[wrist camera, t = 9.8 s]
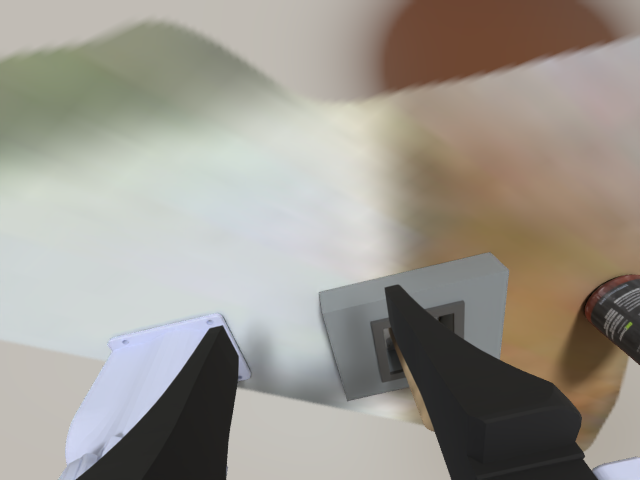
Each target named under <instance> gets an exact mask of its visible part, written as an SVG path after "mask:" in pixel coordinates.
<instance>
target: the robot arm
mask: <svg viewBox="0 0 640 480" xmlns="http://www.w3.org/2000/svg"><path fill="white" fill-rule="evenodd" d="M384 289H385V296H386V303H387V309H388V316H389V322H390V325H391V328H392V331H393V334H394V337H395V340H396V343H397V345H398V347H399V349H400V351H401V353H402V355H403V358H404V360H405V362H406V364H407V366H408V368H409V370H410V372H411V374H412V376H413V379H414V381H415V383H416V385H417V387H418V389H419V391H420V394H421V396H422V398H423V401H424V404H425V406H426V409H427V412H428V415H429V417H430V420H431V423H432V426H433V428H434V431H435V434H436V437H437V439H438V442H439V445H440V448H441V451H442V454H443V457H444V460H445V462H446V465H447V468H448V471H449V474H450V477H451V480H640V457H633V458H628V459H623V460H618V461H614V462H609V463H605V464H602V465H599V466H597V467H595V468H593V470H592V471H591V469H590V468H589V467H588V465H587V464H586V463H585V461H584V460H583V458H584V457H585V455H584V453H583V451H582V450H581V449H580V447H579V446H578V445H577V443H576V442H575V441H576V438H577V435H578V432H579V430H580V427H581V420H582V417H581V414H580V412H579V411H578V410H577V409H576V407H575V406H574V405H573V404H572V403H571V401H570V400H569V399H568V398H567V397H566V396H565V395H564V394H563V393H562V392H561V391H560V390H559V389H558V388H557V387H556V386H555V385H554V384H553V383H551V382H549V381H546V380H544V379H541V378H539V377H537V376H534V375H532V374H529V373H527V372H524V371H522V370H520V369H517V368H515V367H513V366H511V365H509V364H507V363H505V362H503V361H501V360H499V359H497V358H495V357H493V356H492V355H490V354H488V353H486V352H484V351H482V350H481V349H479V348H477V347H476V346H474V345H472V344H471V343H469V342H467V341H466V340H464V339H463V338H461V337H460V336H458V335H457V334H455V333H454V332H453V331H451V330H450V329H448V328H447V327H446V326H445V325H443V324H442V323H441V322H439V321H438V320H437V319H436V318H434V317H433V316H432V315H431V314H430V313H428V312H427V311H426V310H425V309H424V308H423V307H422V306H420V305H419V304H418V303H417V302H416V301H415V300H414V299H413V298H412V297H411V296H410V295H409V294H408V293H407V292H406V291H405V290H404V289H403V288H402V287H401V286H400V285H399V284H397V285H393V286H388V287H384ZM208 320H211V321H212V322H210V321H208ZM126 340H127V341H126ZM107 345H108V346H109V348H110V349H111V350H112V353H111V354H110V356H109V358H108V359H107V361H106V363H105V364H104V366H103V368H102V370H101V371H100V373H99V375H98V376H97V378H96V380H95V382H94V383H93V385H92V387H91V388H90V390H89V392H88V393H87V395H86V397H85V399H84V400H83V402H82V404H81V406H80V407H79V409H78V410H77V412H76V414H75V416H74V418H73V420H72V422H71V425H70V428H69V431H68V435H67V441H66V450H65V455H66V463H67V467H66V469H65V470H64V471H63V473H62V475H61V476H60V477H59V479H58V480H226V476H227V469H228V467H227V454H228V441H229V433H230V426H231V420H232V414H233V408H234V402H235V396H236V390H237V383H238V381H242V380H246V379H249V378H250V376H251V372H250V370H249V368H248V366H247V364H246V362H245V360H244V358H243V356H242V354H241V352H240V350H239V348H238V346H237V344H236V342H235V340H234V338H233V336H232V334H231V332H230V330H229V328H228V326H227V324H226V322H225V320H224V318H223V316H222V315H220V314H211V315H207V316H202V317H198V318H194V319H190V320H185V321H181V322H177V323H173V324H168V325H164V326H160V327H156V328H151V329H147V330H143V331H138V332H134V333H130V334H126V335H121V336H117V337H113V338H110V340H109V341H108V343H107Z"/></svg>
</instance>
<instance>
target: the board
mask: <svg viewBox="0 0 640 480" xmlns="http://www.w3.org/2000/svg"><path fill="white" fill-rule="evenodd" d="M508 276H509V270H508V269H507V268H506V267H505V266H504V265H503V264H502V263H501V262H500V261H499V260H498V259H497V258H496V257H495V256H494V255H493V254H491V253H490V252H489V253H484V254H480V255H476V256H471V257H467V258H463V259H459V260H454V261H450V262H446V263H442V264H437V265H433V266H429V267H425V268H420V269H416V270H412V271H407V272H403V273H399V274H395V275H390V276H386V277H382V278H378V279H373V280H369V281H365V282H360V283H356V284H352V285H348V286H343V287H339V288H335V289H331V290H326V291H322V292H319V295H320V302H321V309H322V315H323V318H324V322H325V325H326V328H327V332H328V335H329V339H330V342H331V346H332V349H333V353H334V356H335V360H336V363H337V367H338V370H339V374H340V377H341V381H342V384H343V387H344V391H345V394H346V398H347V401H350V400H354V399H359V398H363V397H368V396H372V395H376V394H381V393H385V392H390V391H394V390H399V389H403V388H408V387H409V384H408V381H407V379H406V376H405V373H404V371H403V368H402V365H401V363H400V360H399V358H398V355H397V352H396V350H395V349H394V350H389V351H387V348H386V345H385V339H384V332H383V329H387V328H391V325H390V322H389V316H388V309H387V303H386V296H385V289H384V287H388V286H393V285H397V284H399V285H400V286H401V287H402V288H403V289H404V290H405V291H406V292H407V293H408V294H409V295H410V296H411V297H412V298H413V299H414V300H415V301H416V302H417V303H418V304H419V305H420V306H422V307H423V308H424V309H425V310H426V311H427V312H428V313H430V314H431V315H432V316H433V317H434V318H435V317H439V316H440V322H441V323H442V324H443V325H445V326H446V327H447V328H448V329H450V330H451V331H453V332H454V333H455V334H457V335H458V336H460V337H461V338H463V339H464V340H466V341H467V342H469V343H471V344H472V345H474V346H476V347H477V348H479V349H481V350H482V351H484V352H486V353H488V354H490V355H492V356H493V357H495V358H497V359H499V360H500V352H501V342H502V333H503V323H504V314H505V305H506V295H507V286H508Z"/></svg>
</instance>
